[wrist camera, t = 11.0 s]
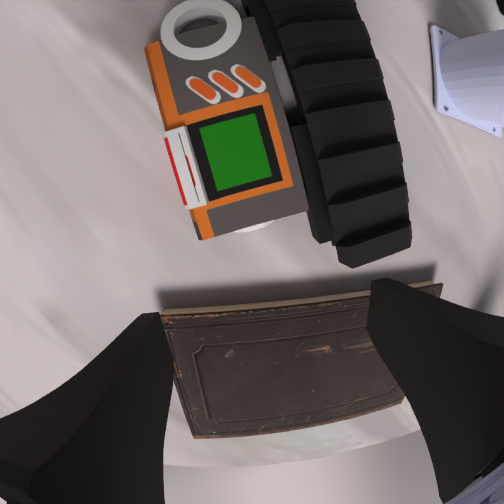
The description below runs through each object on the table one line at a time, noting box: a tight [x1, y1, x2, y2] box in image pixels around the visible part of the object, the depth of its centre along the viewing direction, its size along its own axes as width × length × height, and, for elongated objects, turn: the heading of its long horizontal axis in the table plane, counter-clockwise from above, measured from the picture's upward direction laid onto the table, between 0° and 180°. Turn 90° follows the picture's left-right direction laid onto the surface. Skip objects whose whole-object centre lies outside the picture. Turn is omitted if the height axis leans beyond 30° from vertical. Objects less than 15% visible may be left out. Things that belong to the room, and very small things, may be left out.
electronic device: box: [144, 0, 309, 240], centre depth 15 cm, size 7×3×15 cm
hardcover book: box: [160, 281, 443, 439], centre depth 24 cm, size 16×23×2 cm
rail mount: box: [241, 0, 412, 269], centre depth 14 cm, size 21×6×5 cm, turn 17°
